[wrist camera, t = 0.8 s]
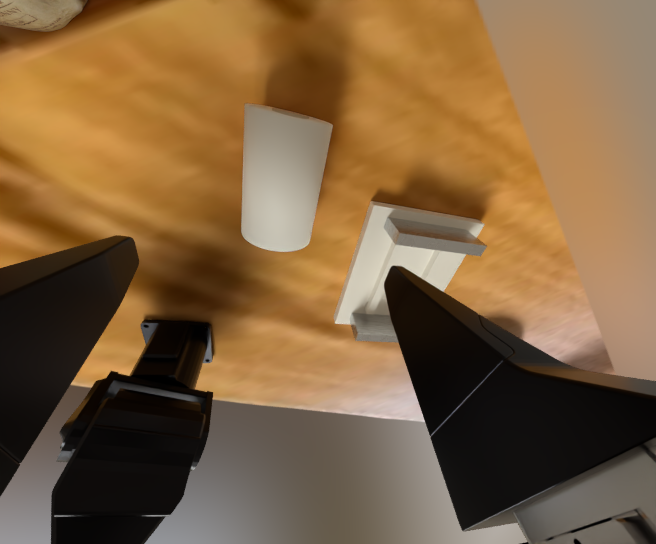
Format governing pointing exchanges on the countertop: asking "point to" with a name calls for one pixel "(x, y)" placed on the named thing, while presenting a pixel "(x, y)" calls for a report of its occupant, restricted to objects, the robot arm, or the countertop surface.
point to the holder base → (395, 259)
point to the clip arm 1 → (372, 327)
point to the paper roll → (281, 176)
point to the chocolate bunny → (39, 13)
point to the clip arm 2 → (433, 237)
